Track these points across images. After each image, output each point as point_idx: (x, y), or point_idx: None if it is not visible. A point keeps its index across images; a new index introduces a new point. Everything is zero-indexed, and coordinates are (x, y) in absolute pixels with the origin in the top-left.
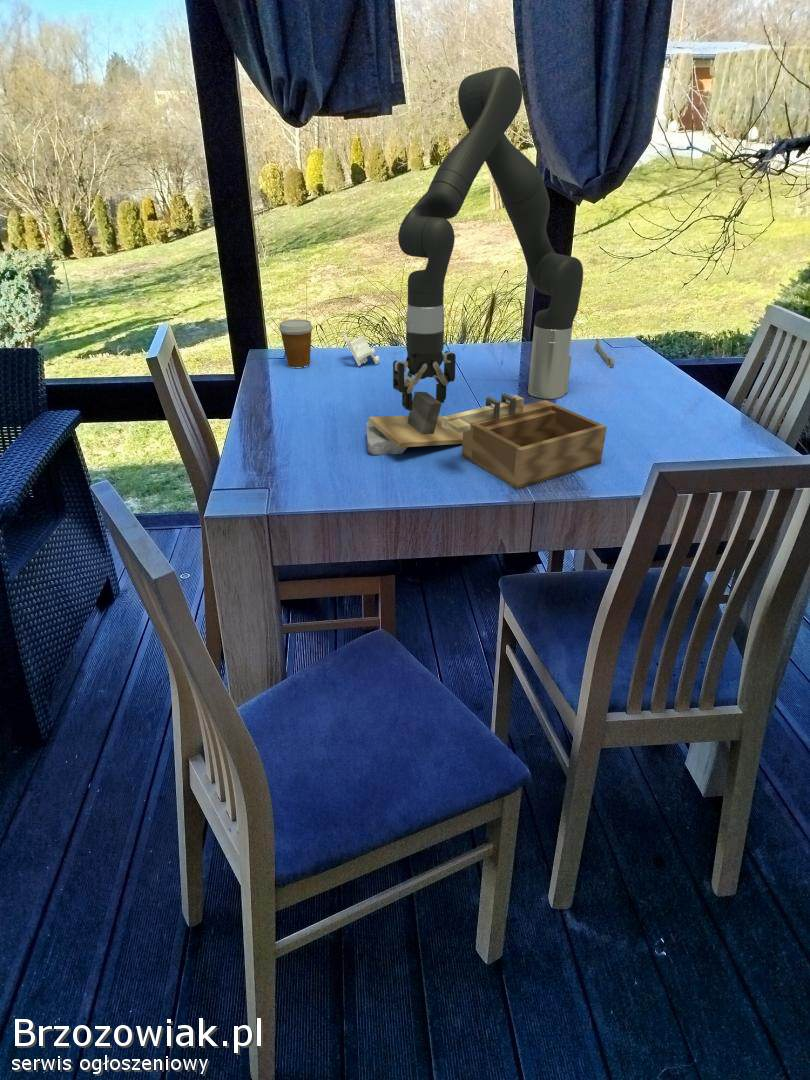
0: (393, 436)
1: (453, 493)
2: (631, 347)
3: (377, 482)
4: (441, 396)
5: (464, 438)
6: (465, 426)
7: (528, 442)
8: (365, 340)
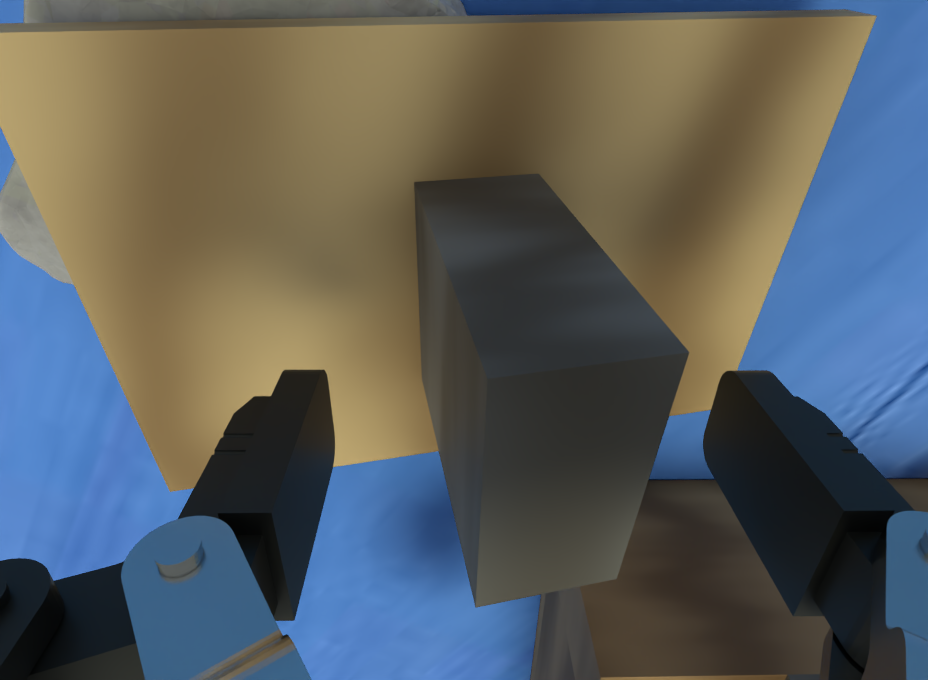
0: (150, 423)
1: (316, 666)
2: None
3: (43, 506)
4: (733, 506)
5: None
6: None
7: None
8: None
